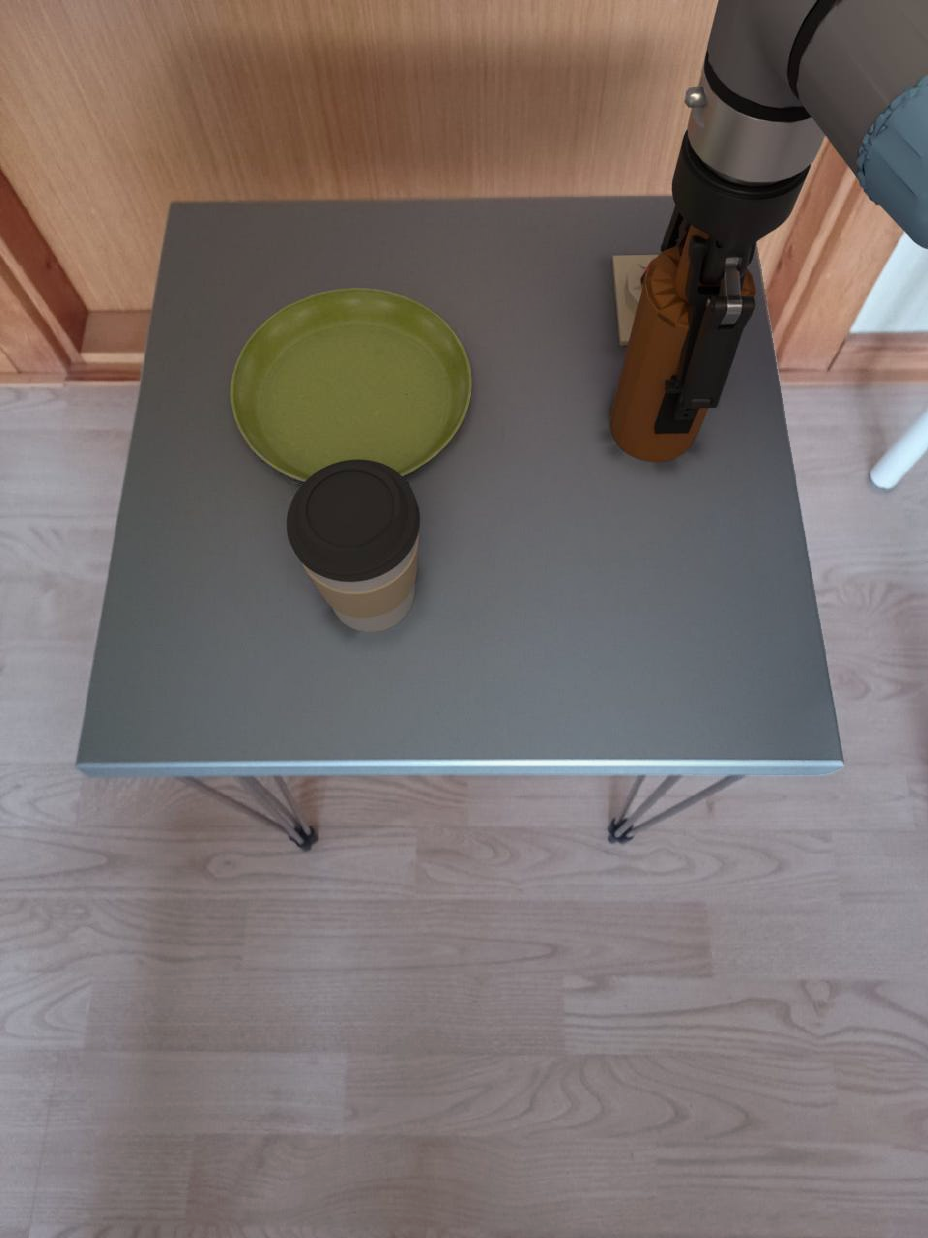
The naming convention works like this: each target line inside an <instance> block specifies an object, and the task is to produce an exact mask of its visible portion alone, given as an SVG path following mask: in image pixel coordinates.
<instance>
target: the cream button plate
mask: <svg viewBox="0 0 928 1238" xmlns="http://www.w3.org/2000/svg"><path fill="white" fill-rule="evenodd" d="M659 255H660V254H639V255H638V254H636V255H635V254H633V255H631V254H629V255H628V254H626V255H625V254H624V255H623V254H622V255H612V257H611V268H612V277H613V278H612V279H613V290H614V300H615V311H616V321H617V322H616V323H617V332H618V342H619V343H618V344H619V346H620V347H627V346H628V342H629V338H630V334H631V330H632V327H633V323H634V319H635V315H636V311H637V307H638V303H639V299H640V295H641V291H642V287H643V282H644V277H645V273H646V270H647V266H648V264H649V263H650V262H651V261H652V260H654V259H655V258H657V257H658V256H659Z"/></svg>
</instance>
